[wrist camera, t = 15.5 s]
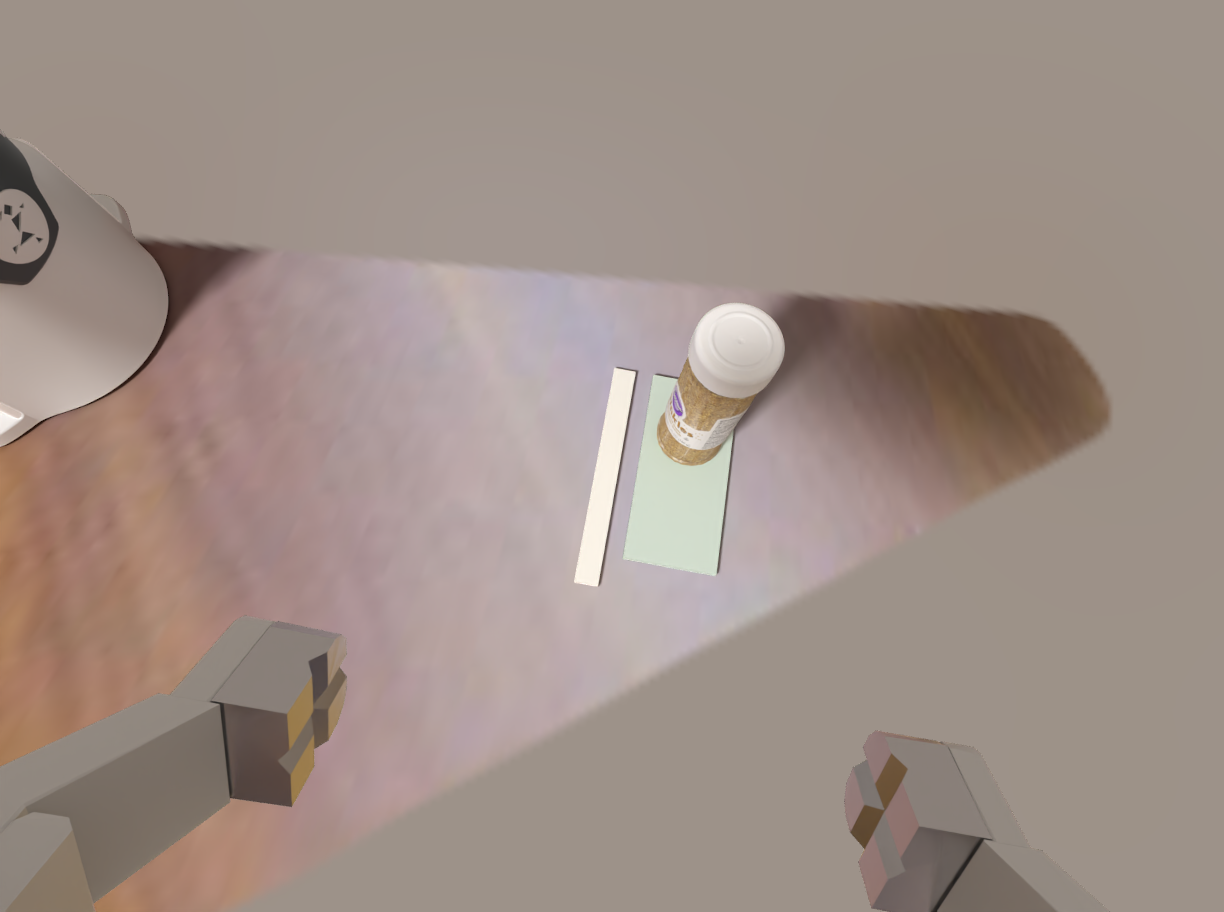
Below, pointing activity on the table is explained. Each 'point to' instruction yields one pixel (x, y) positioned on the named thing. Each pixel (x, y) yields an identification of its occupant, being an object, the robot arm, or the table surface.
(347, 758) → the table surface
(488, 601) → the table surface
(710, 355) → the sprinkles bottle
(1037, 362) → the table surface
